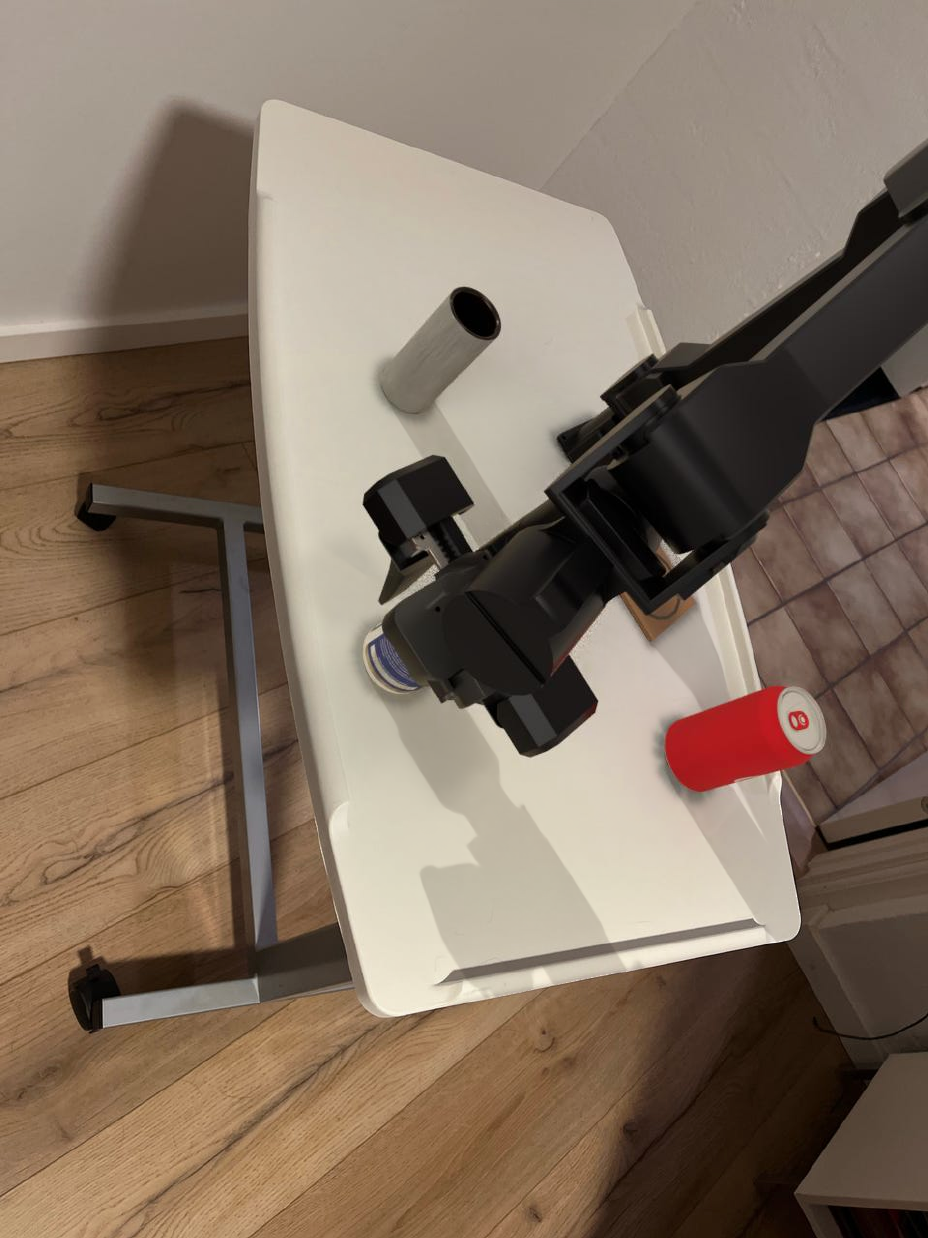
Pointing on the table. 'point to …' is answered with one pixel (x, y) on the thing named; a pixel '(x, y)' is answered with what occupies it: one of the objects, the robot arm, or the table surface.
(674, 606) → the square brown coaster
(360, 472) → the table surface
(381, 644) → the pill bottle
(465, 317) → the grey hollow cylinder
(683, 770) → the beverage can
